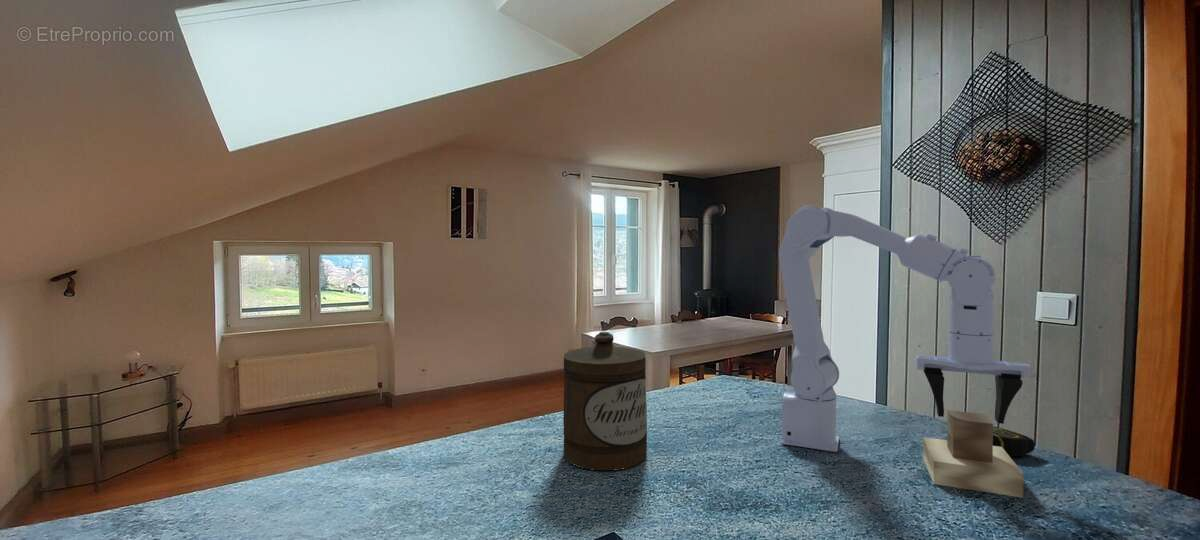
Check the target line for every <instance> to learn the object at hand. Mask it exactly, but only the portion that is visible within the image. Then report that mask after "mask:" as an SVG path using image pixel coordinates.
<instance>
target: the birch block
mask: <svg viewBox="0 0 1200 540" xmlns="http://www.w3.org/2000/svg"><path fill="white" fill-rule="evenodd" d="M922 458H923V461H924V464H925V466H926V469H927V471H928V474H929V476H930V479H931V482H932V483H933V485H938V486H944V487H951V488H957V489H963V490H972V491H977V492H983V493H991V494H997V495H1002V496H1003V495H1004V496H1009V497H1014V498H1015V497H1017V498H1024V472H1023V471H1022V470H1021V468H1019V467H1020V466H1018V464H1016V462H1015V461H1014V460H1013V459H1012V458H1011V456H1009V455H1008V454H1007V453H1006V451H1005V450H1004V449H1003V448H1002V447H999V446H993V462H992V463H990V462H983V461H975V460H967V459H960V458H953V457H952V455H951V453H950V451H949V449H948V447H947V439H941V438H932V437H925V436H924V437H922Z"/></svg>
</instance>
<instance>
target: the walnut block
mask: <svg viewBox="0 0 1200 540" xmlns="http://www.w3.org/2000/svg"><path fill="white" fill-rule="evenodd" d="M946 425H947V433H946V435H947V436H946V440H947V447H948V449H949V451H950V453H951V455H952V457H953V458H960V459H967V460H975V461H983V462H990V463H992V462H993V427H994V423H993V422H992V421H991V419H990V418H989V417H988V416H987V414H986V413H979V412H969V411H960V410H959V411H957V410H949V409H948V410H947V424H946Z"/></svg>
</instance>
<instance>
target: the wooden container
mask: <svg viewBox="0 0 1200 540" xmlns="http://www.w3.org/2000/svg"><path fill="white" fill-rule="evenodd" d="M594 341H595V343H596V344H595V345H594V346H591V347H581V348H576V349H571V350H568V351H567V352H566V353H564V355H563V373H564V374H563V421H562V422H563V424H562V425H563V432H562V433H563V456H565V457H564V459H565V458H566V459H567V460H568V461H569V462H571V463H573V464H575V465H577V466H580V467H583V468H588V469H593V470H592V471H594V470H614V469H622V468H627V469H629V468H628V467H630V468H632V467H631V466H633V467H635V466H634V465H636V466H638V465H639V464H638V463H640V462H641V461H642V462H643V461H644V460H645V459H646V458H647V454H648V442H647V441H648V438H647V437H648V408H647V406H648V405H647V404H648V403H647V376H646V375H647V373H646V370H647V369H646V366H647V364H646V363H647V360H646V357H647V356H646V353H645V352H644V351H642V350H639V349H634V348H630V347H622V346H615V345H614V343H613V342H614V335H613V334H612V333H610V332H608V331H601V332H599V333H597V334H596V335H595V336H594ZM566 459H565V460H566ZM567 460H566V461H567ZM568 461H567V462H568ZM569 462H568V463H569ZM642 462H641V463H642ZM571 463H570V464H571ZM641 463H640V464H641ZM637 464H638V465H637ZM577 466H576V467H577ZM583 468H582V469H583ZM622 470H623V469H622Z"/></svg>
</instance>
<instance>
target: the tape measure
mask: <svg viewBox="0 0 1200 540" xmlns="http://www.w3.org/2000/svg"><path fill="white" fill-rule="evenodd" d="M993 446H999V447H1002V448H1003V449H1004V450H1005V451H1006V453H1007V454H1008V455H1009V456H1010V457H1023V456H1025V455H1027V454H1030V453H1032V452H1033V451H1035V449H1036V442H1035V441H1034V439H1033V438H1032V437H1029V436H1027V435H1024V434H1021V433H1018V432H1015V431H1012V430H1008V429H1004V428H1003V427H998V426H993Z"/></svg>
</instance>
